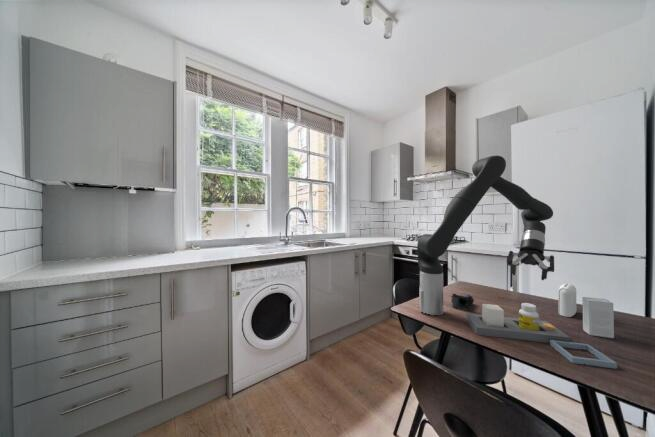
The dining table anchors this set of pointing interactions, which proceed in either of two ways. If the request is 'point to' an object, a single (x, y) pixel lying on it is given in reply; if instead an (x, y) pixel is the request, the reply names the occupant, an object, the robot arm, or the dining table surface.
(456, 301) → the dark piece
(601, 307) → the skincare box
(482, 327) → the socket strip
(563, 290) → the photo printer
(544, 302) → the dining table surface
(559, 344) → the blue-grey square frame
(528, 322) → the supplement bottle
